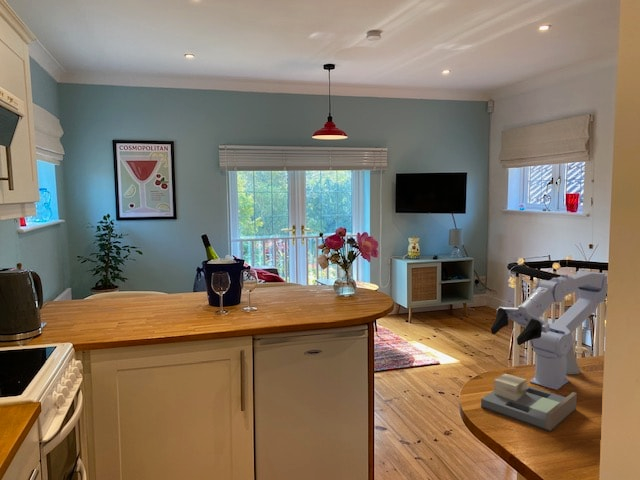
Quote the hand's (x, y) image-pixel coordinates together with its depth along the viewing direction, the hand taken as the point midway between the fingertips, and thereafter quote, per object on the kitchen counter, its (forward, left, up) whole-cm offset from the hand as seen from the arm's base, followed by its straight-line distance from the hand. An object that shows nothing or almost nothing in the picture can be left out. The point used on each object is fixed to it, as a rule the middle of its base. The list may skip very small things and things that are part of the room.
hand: (505, 336), depth 128 cm
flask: (-34, +4, -19) cm, 39 cm away
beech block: (-1, +1, -16) cm, 16 cm away
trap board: (-1, +6, -19) cm, 20 cm away
